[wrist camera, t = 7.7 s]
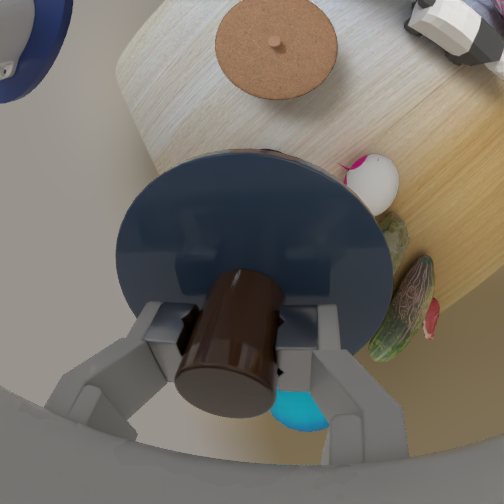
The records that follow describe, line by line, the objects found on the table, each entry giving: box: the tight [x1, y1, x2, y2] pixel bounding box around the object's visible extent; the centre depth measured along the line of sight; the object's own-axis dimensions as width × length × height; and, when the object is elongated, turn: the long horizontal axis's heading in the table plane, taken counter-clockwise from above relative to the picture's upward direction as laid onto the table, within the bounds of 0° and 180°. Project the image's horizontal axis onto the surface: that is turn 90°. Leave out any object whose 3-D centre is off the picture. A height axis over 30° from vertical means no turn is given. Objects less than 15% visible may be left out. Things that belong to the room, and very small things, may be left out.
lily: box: [491, 0, 504, 21], centre depth 16 cm, size 12×12×10 cm
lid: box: [116, 149, 394, 418], centre depth 8 cm, size 9×9×5 cm
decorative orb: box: [270, 386, 329, 432], centre depth 45 cm, size 15×15×15 cm
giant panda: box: [404, 0, 504, 81], centre depth 19 cm, size 15×6×10 cm, turn 70°
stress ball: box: [339, 154, 399, 216], centre depth 32 cm, size 8×8×7 cm
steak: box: [422, 298, 440, 339], centre depth 44 cm, size 10×1×3 cm
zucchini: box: [379, 213, 410, 276], centre depth 33 cm, size 5×5×15 cm
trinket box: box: [215, 0, 338, 100], centre depth 24 cm, size 11×11×9 cm
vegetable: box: [368, 255, 435, 362], centre depth 41 cm, size 6×6×20 cm
